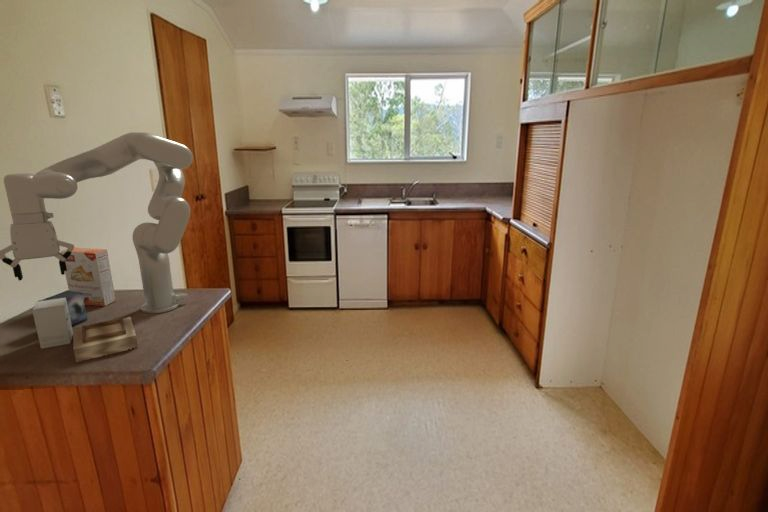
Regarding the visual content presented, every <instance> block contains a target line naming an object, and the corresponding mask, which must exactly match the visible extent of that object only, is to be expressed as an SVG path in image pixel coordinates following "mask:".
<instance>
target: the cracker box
mask: <svg viewBox="0 0 768 512" xmlns="http://www.w3.org/2000/svg"><path fill="white" fill-rule="evenodd" d="M67 249H68V248H66V249H64V250H61V251H60V253H61V254H64V253H65V252H66V251H67ZM109 259H110V258H109V254H108V250H107V249H105V248H88V247H74V249H73V251H72V253H71V255H70V256H69V257H68V258H67V259H66V260H65V262H66V267H67V271H65V274H64V275H65V280H66V284H67V288H68V290H69V291H76V292H82V293H83V299H84V305H85V306H91V305H93V306H95V307H102V308H103V307H104V308H105V307H107V306H109V305H111V304H113V303H115V302H116V301H117V299H116V294H115V288H114V282H113V276H112V271H111V266H110V260H109ZM93 306H92V307H93Z"/></svg>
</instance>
